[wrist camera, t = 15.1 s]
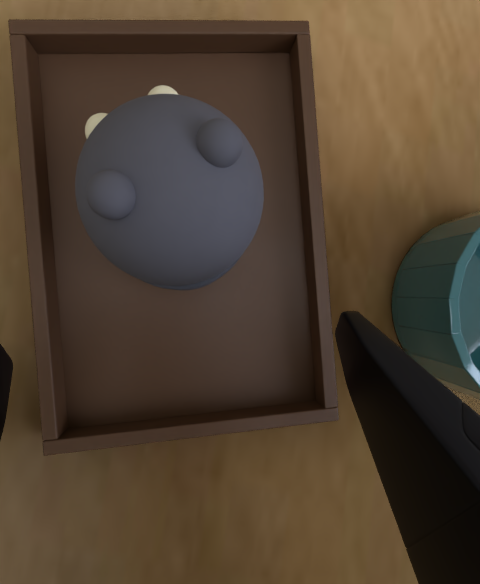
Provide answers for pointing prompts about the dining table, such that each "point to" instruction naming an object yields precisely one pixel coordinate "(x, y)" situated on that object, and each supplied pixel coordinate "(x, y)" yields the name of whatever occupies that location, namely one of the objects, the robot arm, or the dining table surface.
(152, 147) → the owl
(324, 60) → the dining table surface
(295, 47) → the tray
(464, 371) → the teal bowl
